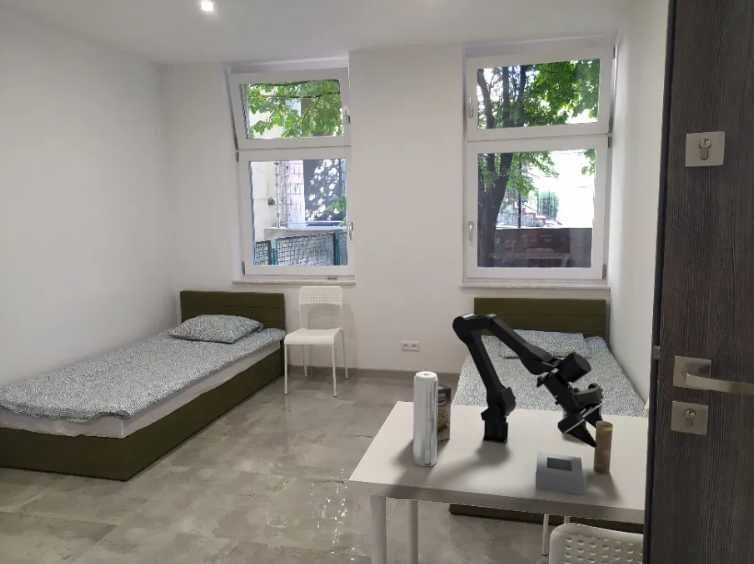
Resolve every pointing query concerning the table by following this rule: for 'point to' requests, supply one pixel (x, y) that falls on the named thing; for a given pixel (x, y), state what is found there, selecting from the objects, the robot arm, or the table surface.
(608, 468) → the peg
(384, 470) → the table surface
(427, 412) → the air filter
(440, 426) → the coffee box
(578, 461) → the socket block
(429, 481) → the table surface
